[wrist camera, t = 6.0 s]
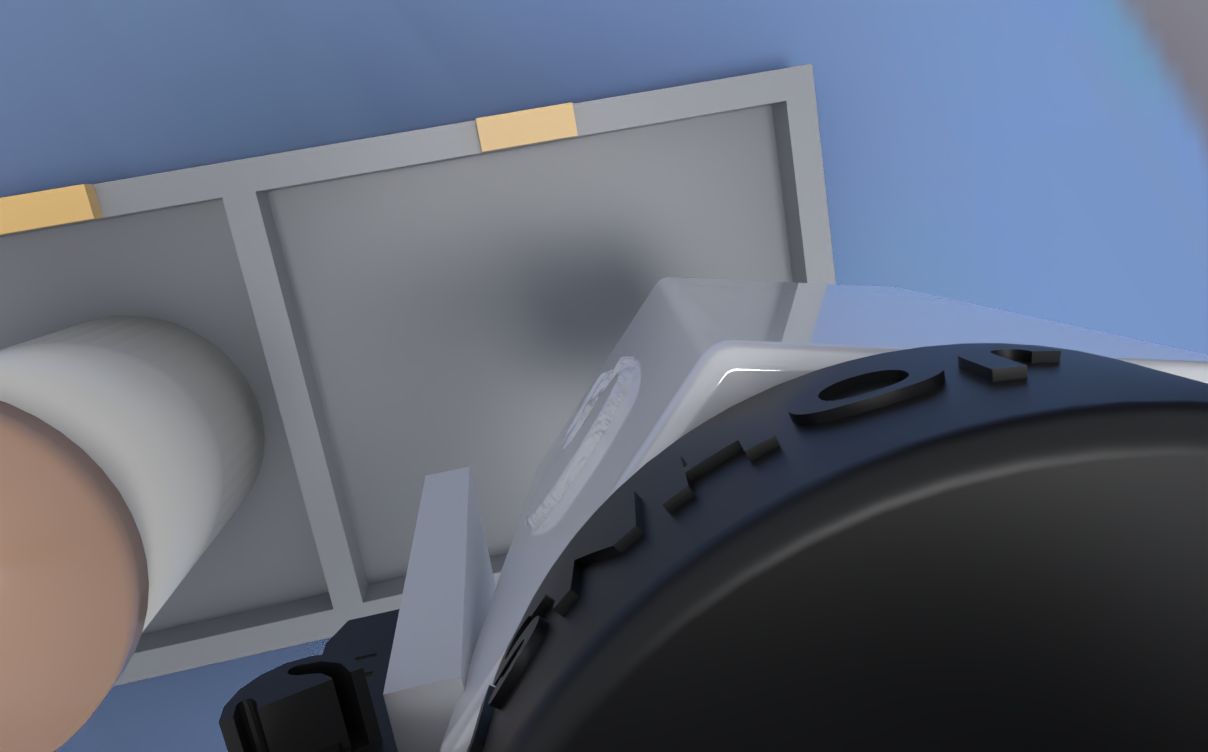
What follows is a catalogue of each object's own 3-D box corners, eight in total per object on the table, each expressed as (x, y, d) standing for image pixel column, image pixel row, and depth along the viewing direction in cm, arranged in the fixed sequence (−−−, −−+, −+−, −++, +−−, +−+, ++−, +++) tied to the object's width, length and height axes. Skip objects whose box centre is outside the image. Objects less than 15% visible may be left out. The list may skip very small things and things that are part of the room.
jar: (717, 167, 16) (1013, -12, 4) (1071, 402, 16) (2256, 864, 4) (467, 554, 17) (124, 1294, 5) (802, 756, 18) (1170, 1821, 6)
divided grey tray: (37, 677, 30) (-3, 721, 28) (-129, 226, 26) (-193, 230, 24) (838, 498, 33) (868, 524, 31) (790, 72, 29) (819, 60, 27)
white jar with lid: (47, 576, 29) (-252, 841, 17) (-38, 336, 27) (-440, 448, 15) (297, 523, 30) (177, 741, 18) (232, 287, 28) (50, 357, 16)
